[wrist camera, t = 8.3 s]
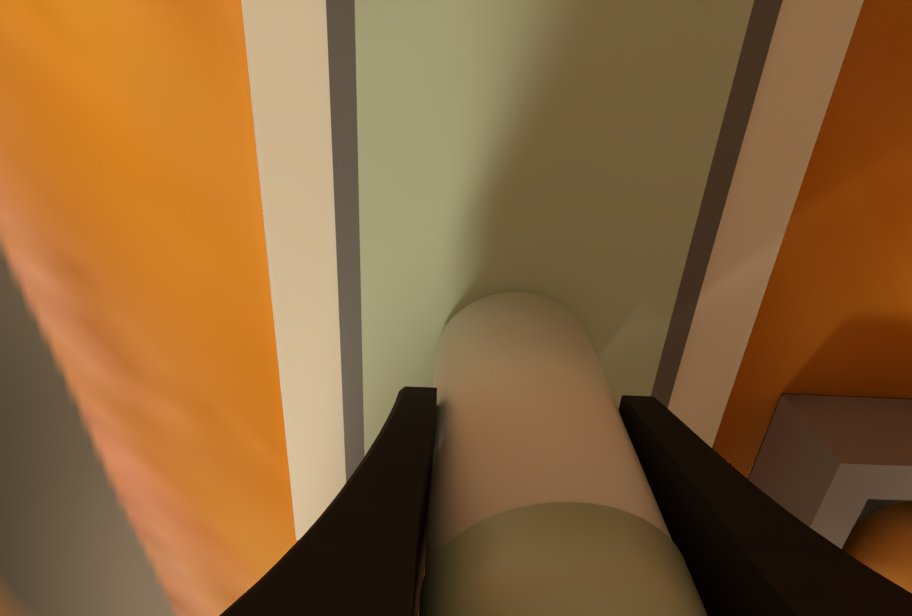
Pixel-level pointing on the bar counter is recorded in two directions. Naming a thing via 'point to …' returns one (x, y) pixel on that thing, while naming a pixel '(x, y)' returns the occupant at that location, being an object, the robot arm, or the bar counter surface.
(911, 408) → the button housing
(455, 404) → the cylinder
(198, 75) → the bar counter surface
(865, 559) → the button
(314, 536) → the robot arm
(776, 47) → the picture sheet
